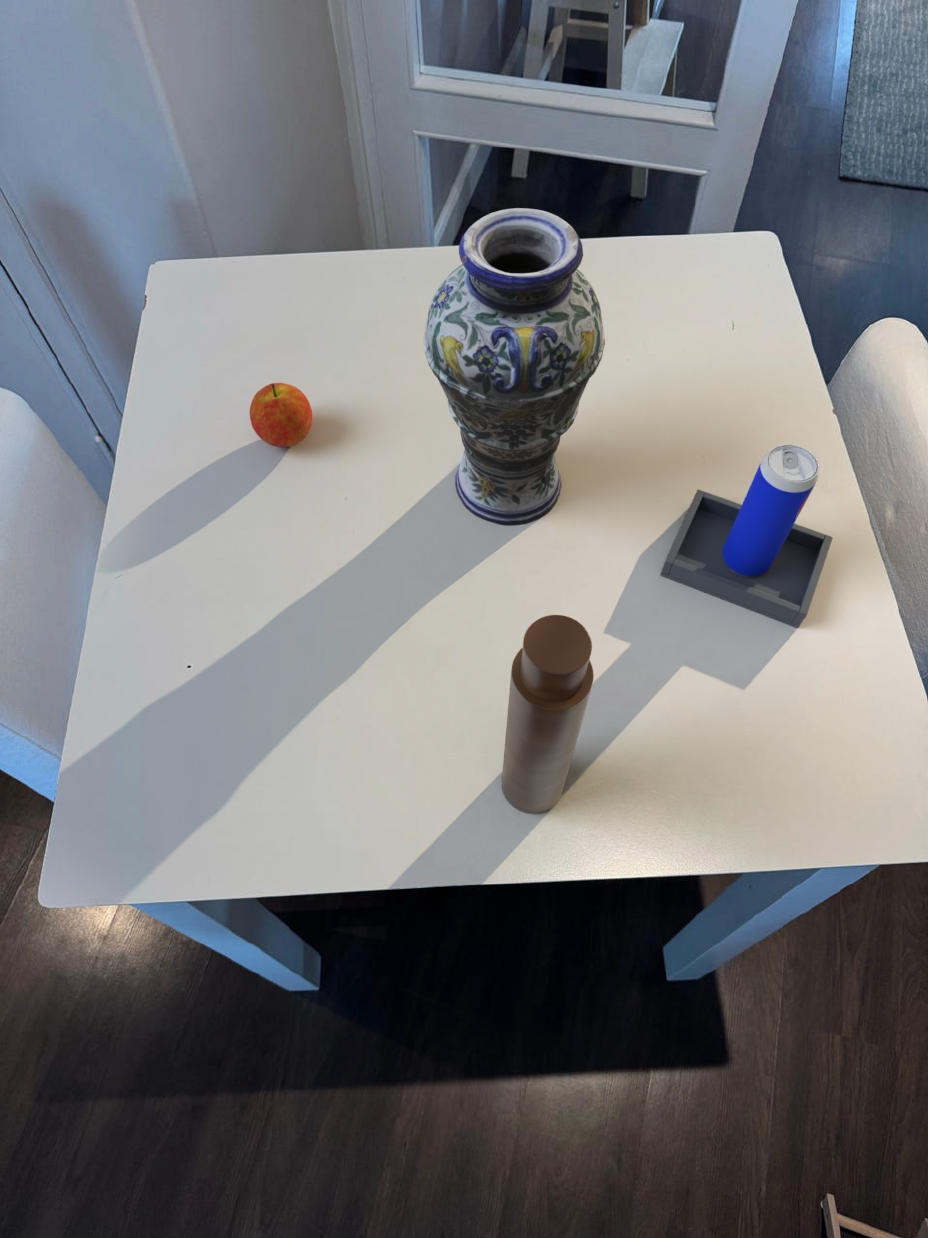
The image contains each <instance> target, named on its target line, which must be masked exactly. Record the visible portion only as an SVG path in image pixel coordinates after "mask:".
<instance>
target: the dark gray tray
mask: <svg viewBox="0 0 928 1238" xmlns="http://www.w3.org/2000/svg"><path fill="white" fill-rule="evenodd" d="M741 506H742V504H741V503H739V502H736V501H732V500H729V499H726V498H724V497H722V496H718V495H716V494H713V493H709V492H707V491H704V490H702V489H699V488H698V489H697V490H696V492H695V495H694V496H693V498H692V501H691V503H690V505H689V507H688V509H687V512H686V513H685V516H684V518H683V520H682V523H681V524H680V526H679V529H678V531H677V534H676V536H675V538H674V540H673V543H672V545H671V547H670V549H669V551H668V554H667V556H666V558H665V559H664V562H663V566H662V568H661V571H660V577H663V578H666V579H669V580H671V581H674V582H676V583H679V584H680V585H681V584H682V585H684V586H687V587H690V588H692V589H695V590H697V591H700V592H703V593H705V594H707V595H710V596H713V597H715V598H718V599H720V600H723V601H726V602H728V603H730V604H734V605H736V606H739V607H741V608H744V609H747V610H749V611H752V612H754V613H757V614H759V615H763V616H765V617H767V618H770V619H773V620H775V621H778V622H781V623H783V624H786V625H789V626H791V627H793V628H796V629H799V628H800V626H801V625H802V623H803V622H804V620H805V619H806V617H807V615H808V613H809V610H810V607H811V604H812V601H813V598H814V595H815V592H816V590H817V586H818V583H819V581H820V577H821V574H822V571H823V569H824V565H825V562H826V559H827V557H828V553H829V550H830V547H831V544H832V542H833V539H834V538H833V536H831V535H828V534H825V533H822V532H821V531H816V530H814V529H811V528H808V527H805V526H803V525H800V524H797V523H794V525H793V527H792V528H791V530H790V532H789V534H788V536H787V538H786V539H785V541H784V543H783V545H782V547H781V549H780V551H779V552H778V554H777V556H776V558H775V560H774V562H773V563H772V565H771V567H770V569H769V570H768V571H767V572H765V573H764V574H762V575H759V576H751V577H749V576H742V575H739V574H737V573H735V572H734V571H732V570H731V569H730V568H729V567H728V566H727V564H726V563H725V561H724V559H723V554H722V551H723V547H724V545H725V542H726V540H727V538H728V536H729V533H730V531H731V529H732V526H733V524H734V522H735V520H736V517H737V515H738V513H739V511H740V508H741Z"/></svg>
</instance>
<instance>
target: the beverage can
mask: <svg viewBox="0 0 928 1238" xmlns="http://www.w3.org/2000/svg"><path fill="white" fill-rule="evenodd" d="M819 472H820V463H819V460H818V459H817V457H816V456H815V454H813V452H812V451H810V450H809V449H807V448H806V447H803V446H801V445H797V444H792V443H791V444H789V443H788V444H787V443H784V444H780V445H777V446H774V447H773V448H772V449H770V450H769V451H768V452H767V453H766V454H765V455H764V456H763V457H762V459H761V460H760V463H759V465H758V468H757V470H756V472H755V474H754V477H753V479H752V481H751V484H750V486H749V488H748V490H747V492H746V495H745V497H744V499H743V502H742V504H741V505H742V506H741V508H740V511H739V513H738V515H737V517H736V520H735V522H734V524H733V526H732V529H731V531H730V533H729V536H728V538H727V540H726V542H725V545H724V547H723V551H722V554H723V559H724V561H725V563H726V564H727V566H728V567H729V568H730V569H731V570H732V571H734V572H735V573H737V574H739V575H742V576H749V577H751V576H759V575H762V574H764V573H765V572H767V571H768V570H769V569H770V567H771V565H772V563H773V562H774V560H775V558H776V556H777V554H778V552H779V551H780V549H781V547H782V545H783V543H784V541H785V539H786V538H787V536H788V534H789V532H790V530H791V528H792V527H793V525H794V524H796V523H795V522H796V521H797V519H798V518H799V516H800V514H801V512H802V510H803V508H804V506H805V504H806V503H807V501H808V499H809V497H810V495H811V493H812V491H813V489H814V488H815V486H816V484H817V482H818V480H819V474H820V473H819Z"/></svg>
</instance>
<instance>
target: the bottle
mask: <svg viewBox="0 0 928 1238" xmlns="http://www.w3.org/2000/svg"><path fill="white" fill-rule="evenodd" d="M522 640H523V642H522V648H520V649H519V650H518V651H517V652H516V655H515V656H514V658H513V660H512V664H511V671H510V683H509V692H508V693H509V694H508V704H507V717H506V728H505V739H504V748H503V749H504V751H503V759H502V761H503V762H502V773H501V789H502V790H501V791H502V793H503V796H504V798H505V800H506V801H507V802H508V804H510V806H512V808H514V809H516V810H517V811H519V812H521V813H525V814H530V815H536V814H537V815H538V814H542V813H546V812H548V811H550V810H551V809H553V808H554V807H555V806H556V805H558V803H559V801H560V800H561V797H562V795H563V792H564V788H565V785H566V782H567V778H568V774H569V770H570V766H571V763H572V759H573V755H574V753H575V748H576V746H577V742H578V738H579V734H580V731H581V727H582V724H583V720H584V717H585V713H586V709H587V706H588V702H589V698H590V695H591V692H592V688H593V683H594V668H593V665H592V662H591V655H592V650H593V642H592V638H591V635H590V633H589V632H588V630H587V629H586V627H585V626H584V625H583V624H582V623H580V622H579V621H578V620H577V619H574V618H573V617H570V616H567V615H562V614H550V615H545V616H542V617H540V618H538V619H536V620H535V621H533V622H532V623H531V624H529V626H528V627H527V629H526V631H525V633H524V636H523V639H522Z"/></svg>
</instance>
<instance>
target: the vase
mask: <svg viewBox="0 0 928 1238" xmlns="http://www.w3.org/2000/svg"><path fill="white" fill-rule="evenodd" d="M466 229H467V230H466V231H465V232H464V234H463V235H462V237H461V239H460V242H459V244H458V256H459V259H460V261H461V264H460V265H458V266H457V267H456V268H455V269H454V270H452V271H451V272H450V273H449V274H448V276H446V278H444V280H443V281H442V282H441V283H440V284H439V286H438V287H437V289H436V291H435V292H434V295H433V297H432V298H431V301H430V302H431V303H430V305H429V309H428V312H427V319H426V323H425V325H424V331H423V333H424V334H423V349H424V350H423V351H424V355H425V358H426V361H427V364H428V366H429V368H430V370H431V371H432V374H433V375H434V376H435V378H437V380H438V382H439V384H440V386H441V388H442V390H443V393H444V395H445V397H446V400H447V407H448V410H449V413H450V415H451V417H452V419H453V420H454V422H455V424H456V425H457V427H458V428H459V429H460V430H459V431H460V432H459V433H460V438H461V442H462V445H463V447H464V449H463V450H464V451H463V454H462V457H461V460H460V463H459V465H458V467H457V470H456V472H455V488H456V489H455V490H456V493H457V496H458V498H459V500H460V502H461V504H462V505H463V506H464V507H465V508H466V510H468V511H469V512H470V513H471V514H473V515H474V516H476V517H478V518H479V519H482V520H484V521H487V522H490V523H494V524H497V525H500V526H501V525H502V526H520V525H526V524H528V523H531V522H533V521H536V520H539V519H540V518H543V517H544V516H546V515H547V514H548V513H549V512H551V511H552V509H553V508H554V506H556V505H557V502H558V500H559V498H560V495H561V489H562V478H561V474H560V471H559V468H558V464H557V461H556V457H555V453H556V452H557V449H558V447H559V446H560V442H561V437H562V436H563V435H564V434H565V433H567V431H568V430H569V429H570V428H571V427H572V425H573V424H574V422H575V420H576V418H577V415H578V412H579V407H580V401H581V399H582V396H583V394H584V391H585V389H586V386H587V384H588V383H589V380H590V379H591V378H592V377H593V375H594V374H595V373H596V371H597V369H598V367H599V365H600V364H601V361H602V358H603V355H604V349H605V345H606V339H605V329H604V328H605V327H604V324H603V317H602V309H601V305H600V301H599V299H598V297H597V294H596V291H595V290H594V287H593V286H592V283H590V281H589V280H588V278H586V275H584V273H582V272H581V271H580V270H579V269H578V268H579V267H580V265H582V261H583V257H584V249H583V243H582V241H581V238H580V236H579V235H578V233H577V232H576V230H575V229H574V227H573V226H571V224H569V223H568V222H567V221H565V220H564V219H563V218H561V217H559V216H558V215H556V214H554V213H551V212H548V211H545V210H541V209H535V208H522V207H521V208H520V207H515V208H506V209H501V210H498V211H494V212H491V213H488V214H486V215H485V216H483V217H481V218H479V219H478V220H476V221H475V222H474V223H472V225H470V226H469V227H468V228H466Z"/></svg>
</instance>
